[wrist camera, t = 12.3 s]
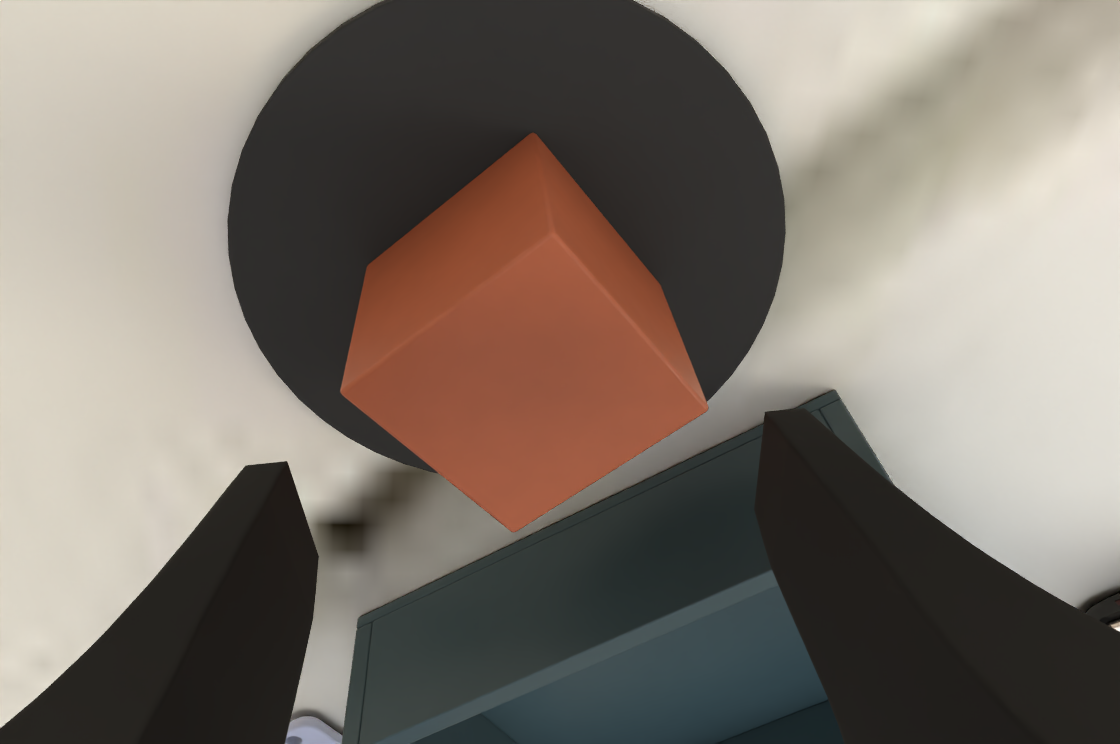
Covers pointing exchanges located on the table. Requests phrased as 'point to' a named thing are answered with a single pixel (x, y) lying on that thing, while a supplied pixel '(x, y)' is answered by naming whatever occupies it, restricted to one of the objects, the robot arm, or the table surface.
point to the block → (519, 342)
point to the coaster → (479, 141)
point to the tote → (608, 627)
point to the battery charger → (1107, 611)
